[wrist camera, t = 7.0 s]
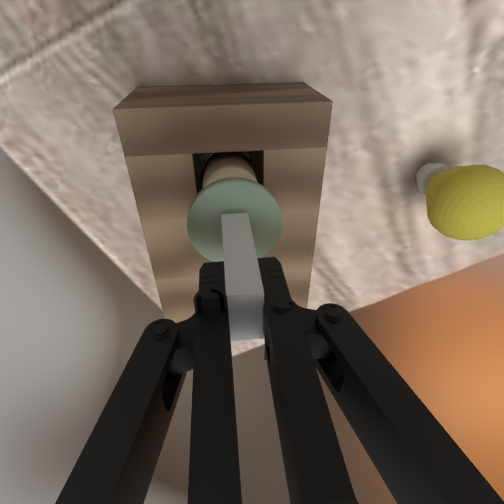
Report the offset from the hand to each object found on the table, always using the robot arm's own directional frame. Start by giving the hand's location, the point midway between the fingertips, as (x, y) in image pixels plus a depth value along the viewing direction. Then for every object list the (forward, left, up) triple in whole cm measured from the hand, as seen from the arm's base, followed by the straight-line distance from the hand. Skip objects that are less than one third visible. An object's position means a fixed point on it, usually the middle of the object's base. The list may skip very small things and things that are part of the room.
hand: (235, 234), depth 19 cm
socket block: (+5, 0, -15) cm, 16 cm away
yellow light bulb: (+3, +21, -15) cm, 26 cm away
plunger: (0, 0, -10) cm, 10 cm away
